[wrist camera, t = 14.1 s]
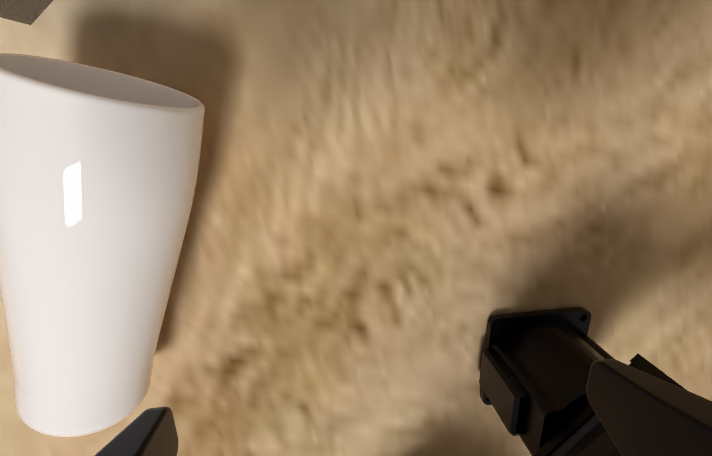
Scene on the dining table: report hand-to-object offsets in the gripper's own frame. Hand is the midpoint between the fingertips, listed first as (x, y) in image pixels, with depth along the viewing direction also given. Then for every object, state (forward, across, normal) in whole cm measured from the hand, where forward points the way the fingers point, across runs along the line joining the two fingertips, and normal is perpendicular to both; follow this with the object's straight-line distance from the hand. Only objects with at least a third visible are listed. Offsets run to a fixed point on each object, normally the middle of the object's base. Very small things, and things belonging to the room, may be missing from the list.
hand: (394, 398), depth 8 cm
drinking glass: (+10, +13, +8) cm, 18 cm away
